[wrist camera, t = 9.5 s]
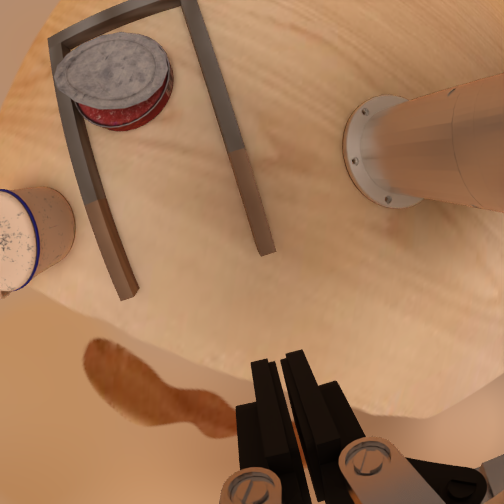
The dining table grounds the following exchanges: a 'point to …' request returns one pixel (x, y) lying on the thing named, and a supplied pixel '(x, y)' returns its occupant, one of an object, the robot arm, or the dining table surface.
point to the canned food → (117, 80)
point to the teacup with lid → (32, 234)
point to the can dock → (138, 6)
